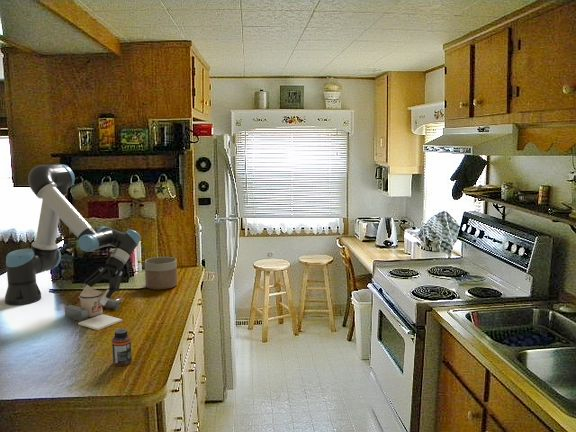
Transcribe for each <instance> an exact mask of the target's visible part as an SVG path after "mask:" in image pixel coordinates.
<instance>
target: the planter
mask: <svg viewBox="0 0 576 432" xmlns="http://www.w3.org/2000/svg"><path fill="white" fill-rule="evenodd" d="M177 263H178V262H177V258H175V257H171V256H157V257H150V258H147V259H145V260H144V277H145V278H144V279H145V281H144V282H145V287H146V288H148V289H150V290H155V291H163V290H168V289H173V288H174V287H176V286H177V285H178V268H177V267H178V266H177V265H178V264H177Z"/></svg>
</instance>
